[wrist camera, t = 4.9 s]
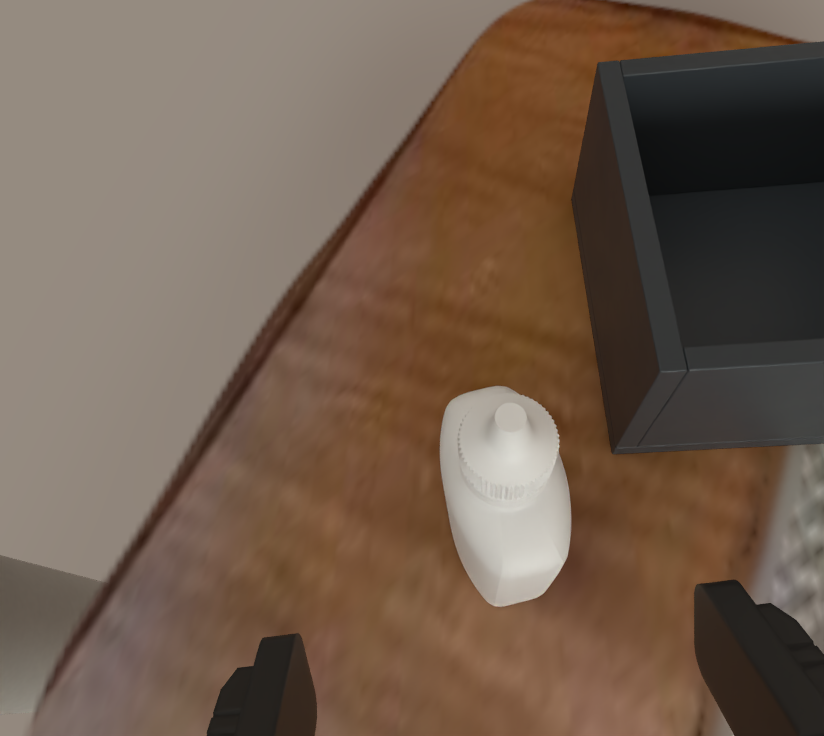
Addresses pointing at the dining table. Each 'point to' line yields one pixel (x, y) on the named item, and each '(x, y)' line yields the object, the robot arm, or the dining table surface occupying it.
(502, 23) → the dining table surface
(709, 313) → the bin
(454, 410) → the eye dropper bottle
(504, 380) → the dining table surface
